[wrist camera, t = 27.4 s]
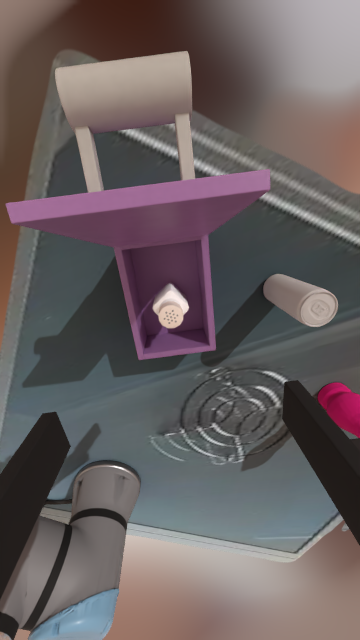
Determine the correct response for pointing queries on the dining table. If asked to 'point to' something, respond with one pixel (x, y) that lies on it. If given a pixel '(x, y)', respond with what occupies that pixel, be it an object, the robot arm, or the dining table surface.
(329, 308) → the beverage can
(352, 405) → the pepper mill
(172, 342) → the file box
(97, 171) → the lid
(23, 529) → the robot arm
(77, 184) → the dining table surface
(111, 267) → the dining table surface
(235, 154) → the dining table surface
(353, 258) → the dining table surface
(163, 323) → the salt shaker
